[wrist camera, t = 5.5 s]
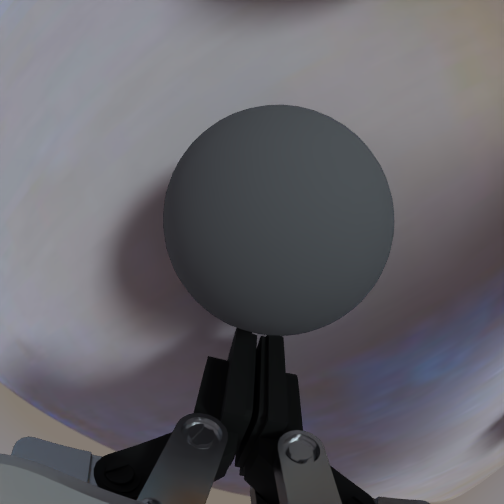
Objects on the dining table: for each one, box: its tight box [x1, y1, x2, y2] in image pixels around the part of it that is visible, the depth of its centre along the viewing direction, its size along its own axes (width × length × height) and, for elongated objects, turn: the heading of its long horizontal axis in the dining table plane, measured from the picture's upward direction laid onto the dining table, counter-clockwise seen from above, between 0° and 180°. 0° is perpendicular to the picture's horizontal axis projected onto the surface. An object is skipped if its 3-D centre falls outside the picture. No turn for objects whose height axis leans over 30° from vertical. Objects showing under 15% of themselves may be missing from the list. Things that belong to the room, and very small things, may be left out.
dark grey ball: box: [163, 105, 394, 336], centre depth 8 cm, size 6×6×6 cm
